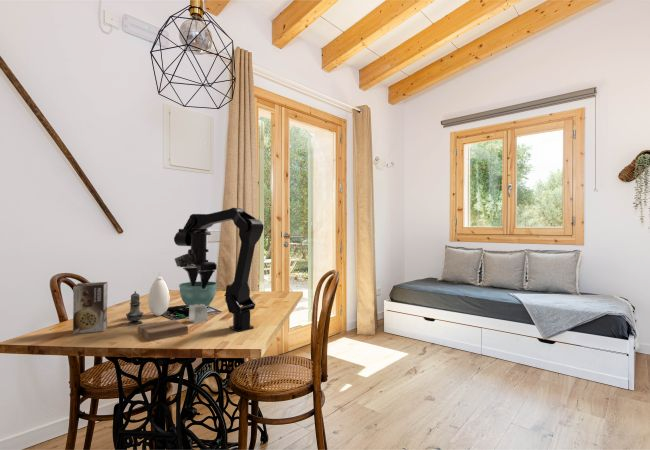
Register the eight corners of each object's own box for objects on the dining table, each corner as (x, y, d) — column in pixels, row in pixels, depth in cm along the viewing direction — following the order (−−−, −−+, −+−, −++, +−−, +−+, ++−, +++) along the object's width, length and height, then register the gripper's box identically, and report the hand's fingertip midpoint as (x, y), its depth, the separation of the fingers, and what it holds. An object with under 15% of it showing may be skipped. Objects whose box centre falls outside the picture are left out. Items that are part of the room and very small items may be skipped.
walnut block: (187, 335, 120) (187, 326, 120) (150, 342, 112) (150, 333, 112) (173, 327, 129) (173, 319, 129) (137, 334, 120) (138, 325, 120)
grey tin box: (207, 321, 137) (207, 305, 137) (194, 323, 134) (194, 307, 134) (201, 318, 141) (201, 303, 141) (188, 320, 137) (189, 305, 137)
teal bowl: (173, 307, 161) (173, 283, 161) (207, 302, 171) (208, 280, 171) (186, 313, 149) (187, 287, 149) (222, 308, 159) (223, 284, 159)
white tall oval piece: (155, 318, 140) (156, 272, 140) (143, 315, 144) (144, 271, 144) (173, 314, 147) (174, 270, 147) (161, 312, 151) (162, 269, 151)
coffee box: (107, 326, 127) (108, 281, 128) (103, 331, 121) (104, 284, 122) (77, 329, 124) (78, 282, 124) (71, 334, 118) (72, 285, 118)
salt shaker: (135, 325, 129) (136, 292, 129) (121, 324, 130) (122, 291, 130) (147, 321, 135) (147, 290, 135) (133, 320, 136) (134, 289, 136)
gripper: (168, 246, 139) (167, 286, 138) (188, 248, 125) (187, 292, 125) (195, 245, 146) (195, 283, 146) (217, 247, 133) (216, 289, 133)
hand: (198, 287), depth 137 cm, fingers open, 9 cm apart
